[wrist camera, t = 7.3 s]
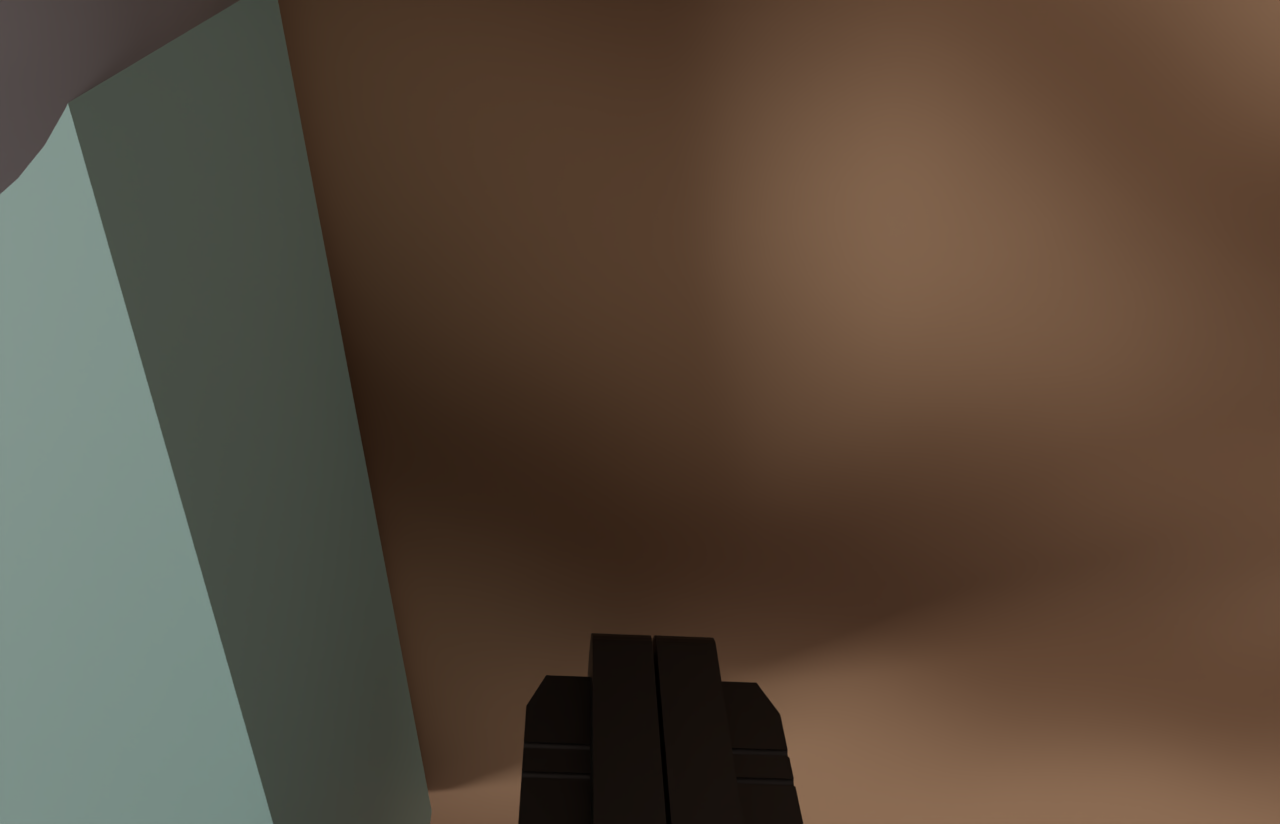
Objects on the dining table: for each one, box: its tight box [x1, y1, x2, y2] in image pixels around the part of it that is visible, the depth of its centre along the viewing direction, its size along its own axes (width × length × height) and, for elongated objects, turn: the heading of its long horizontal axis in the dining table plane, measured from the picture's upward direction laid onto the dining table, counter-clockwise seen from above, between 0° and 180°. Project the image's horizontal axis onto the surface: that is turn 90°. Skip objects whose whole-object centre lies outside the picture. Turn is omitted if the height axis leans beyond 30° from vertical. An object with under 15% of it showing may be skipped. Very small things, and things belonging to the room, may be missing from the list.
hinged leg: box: [0, 0, 432, 824], centre depth 10 cm, size 14×4×5 cm, turn 3°
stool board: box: [278, 0, 1280, 824], centre depth 13 cm, size 15×27×8 cm, turn 68°
